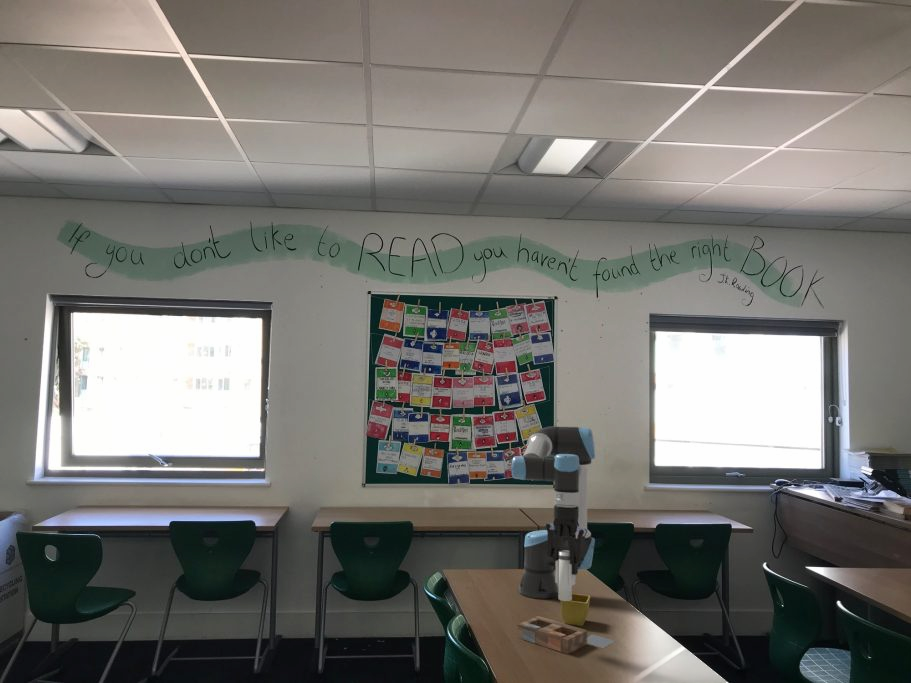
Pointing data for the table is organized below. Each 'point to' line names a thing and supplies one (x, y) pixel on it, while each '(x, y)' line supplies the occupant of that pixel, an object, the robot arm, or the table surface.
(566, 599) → the plug
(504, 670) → the table surface
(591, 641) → the mat
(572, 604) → the flower pot
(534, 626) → the socket block
